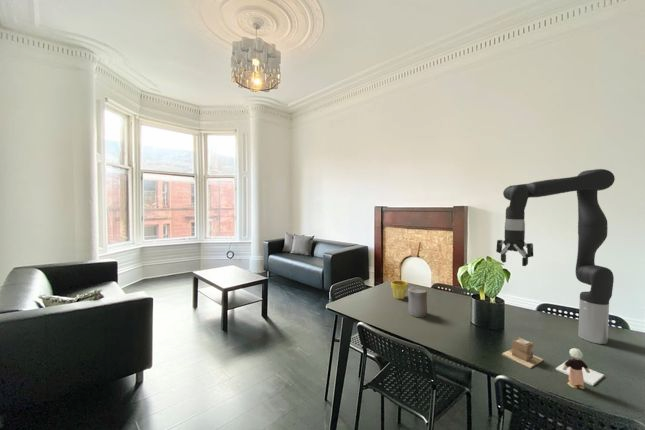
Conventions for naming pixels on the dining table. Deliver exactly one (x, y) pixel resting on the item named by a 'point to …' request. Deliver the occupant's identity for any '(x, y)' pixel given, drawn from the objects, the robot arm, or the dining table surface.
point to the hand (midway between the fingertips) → (513, 263)
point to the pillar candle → (417, 301)
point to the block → (522, 349)
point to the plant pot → (399, 288)
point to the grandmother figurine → (576, 368)
